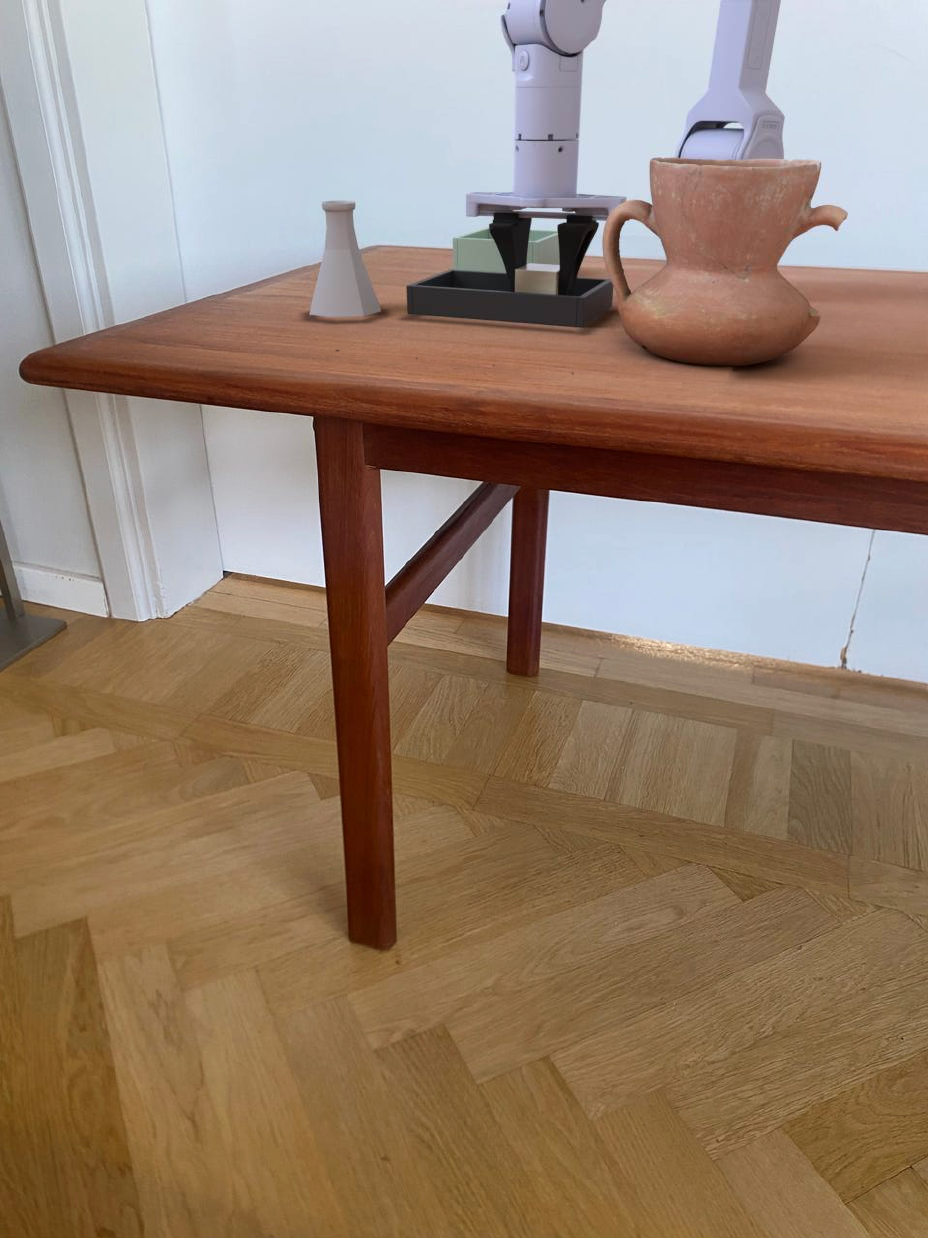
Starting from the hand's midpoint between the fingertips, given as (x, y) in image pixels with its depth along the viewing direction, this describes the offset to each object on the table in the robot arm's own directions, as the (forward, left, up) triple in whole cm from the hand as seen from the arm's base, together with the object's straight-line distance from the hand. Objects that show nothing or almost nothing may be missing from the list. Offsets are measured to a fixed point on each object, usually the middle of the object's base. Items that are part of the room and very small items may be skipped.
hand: (541, 301), depth 87 cm
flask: (+18, +6, -2) cm, 19 cm away
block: (0, 0, -1) cm, 1 cm away
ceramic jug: (-17, +10, -2) cm, 20 cm away
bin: (+11, -22, -1) cm, 24 cm away
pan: (+3, 0, -1) cm, 3 cm away
